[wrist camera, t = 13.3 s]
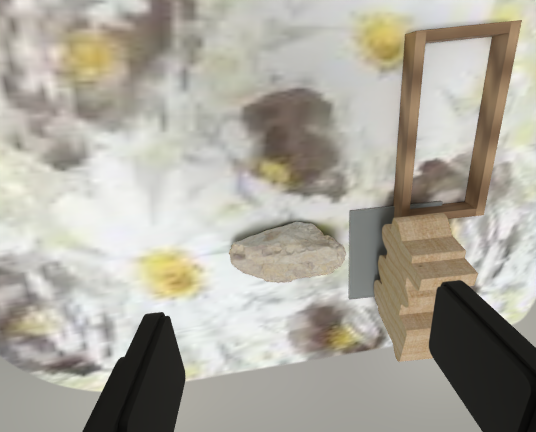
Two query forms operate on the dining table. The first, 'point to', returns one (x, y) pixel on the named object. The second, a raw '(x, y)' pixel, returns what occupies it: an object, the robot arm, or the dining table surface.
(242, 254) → the stone
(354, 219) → the slate mat
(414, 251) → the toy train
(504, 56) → the pocket frame
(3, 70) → the dining table surface
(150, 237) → the dining table surface
